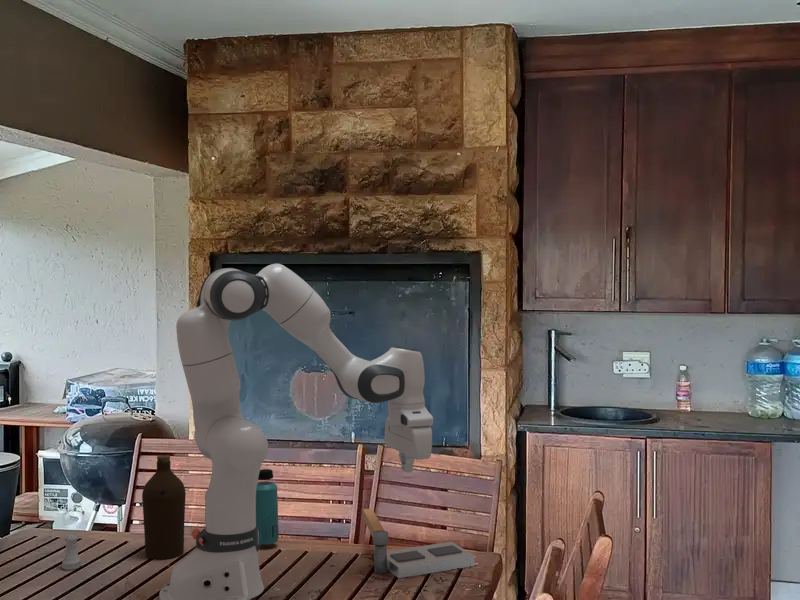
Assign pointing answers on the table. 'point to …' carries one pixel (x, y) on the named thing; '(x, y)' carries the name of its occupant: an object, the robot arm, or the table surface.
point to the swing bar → (375, 527)
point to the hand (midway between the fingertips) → (406, 471)
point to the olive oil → (164, 512)
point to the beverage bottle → (267, 508)
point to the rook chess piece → (71, 553)
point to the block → (421, 559)
